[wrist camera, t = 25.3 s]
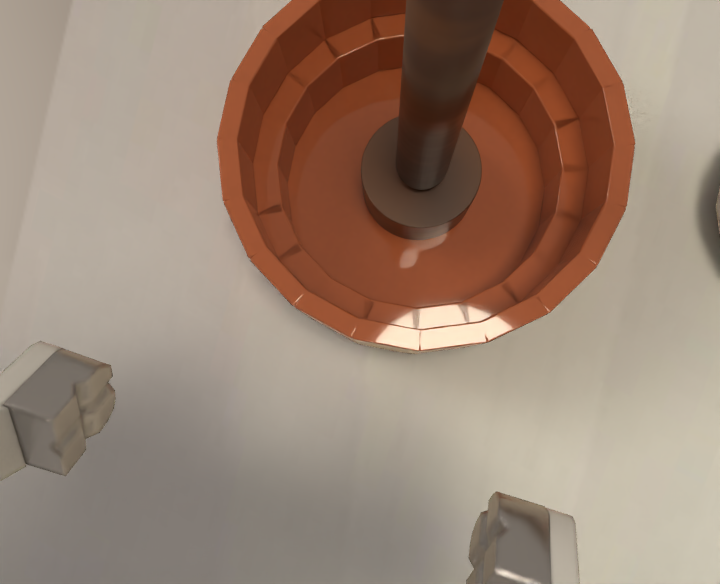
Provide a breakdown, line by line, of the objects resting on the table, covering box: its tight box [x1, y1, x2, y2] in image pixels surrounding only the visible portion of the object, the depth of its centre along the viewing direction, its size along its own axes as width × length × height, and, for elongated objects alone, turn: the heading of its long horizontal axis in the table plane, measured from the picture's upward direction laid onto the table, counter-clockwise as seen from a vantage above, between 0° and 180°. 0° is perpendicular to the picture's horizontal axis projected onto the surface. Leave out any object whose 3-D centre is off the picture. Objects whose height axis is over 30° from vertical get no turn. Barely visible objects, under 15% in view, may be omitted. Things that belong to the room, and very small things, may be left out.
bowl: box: [217, 0, 635, 354], centre depth 24 cm, size 16×16×6 cm
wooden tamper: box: [361, 0, 504, 240], centre depth 18 cm, size 5×5×17 cm
